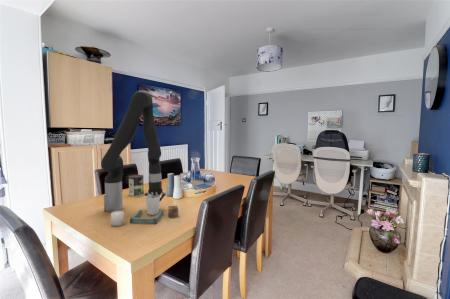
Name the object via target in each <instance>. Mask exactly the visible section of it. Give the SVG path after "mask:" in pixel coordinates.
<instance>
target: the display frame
mask: <svg viewBox="0 0 450 299" xmlns="http://www.w3.org/2000/svg"><path fill="white" fill-rule="evenodd" d="M164 214H165V213H164V210H163V209H161V210H159V213H157V214H156V215H155V217H141V216H142V215H143V210H142V209H139V210H137V211H136V212H135V213H134V214H133V215H132V216H131V217H130V218H129V224H144V225H145V224H153V225H156V224H158V223H159V222H160V220H161V219H162V217H163V216H164Z"/></svg>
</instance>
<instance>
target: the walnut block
mask: <svg viewBox="0 0 450 299" xmlns="http://www.w3.org/2000/svg"><path fill="white" fill-rule="evenodd" d="M167 208H168V209H167V210H168V212H167V213H168V214H167V215H168V218H169V219H172V218H178V217H179V207H178V205H169V206H168V207H167Z"/></svg>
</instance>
